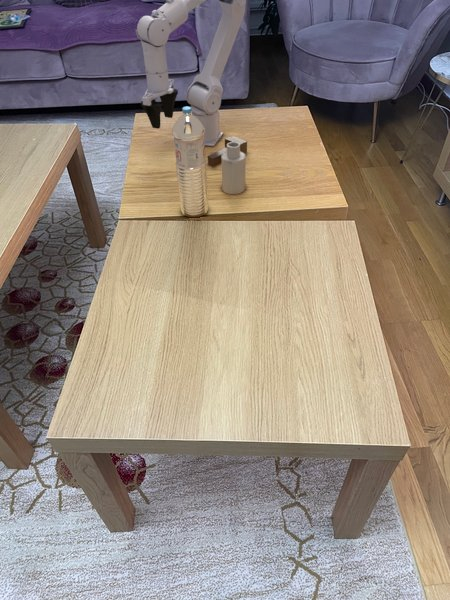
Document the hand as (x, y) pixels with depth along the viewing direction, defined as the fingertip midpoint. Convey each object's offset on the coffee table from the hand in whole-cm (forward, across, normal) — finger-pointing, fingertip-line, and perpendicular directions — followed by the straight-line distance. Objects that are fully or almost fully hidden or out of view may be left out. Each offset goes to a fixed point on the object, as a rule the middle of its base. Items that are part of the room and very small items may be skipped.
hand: (162, 122), depth 126 cm
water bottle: (+10, -25, -21) cm, 34 cm away
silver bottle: (+9, -11, -26) cm, 30 cm away
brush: (+9, +4, -18) cm, 20 cm away
